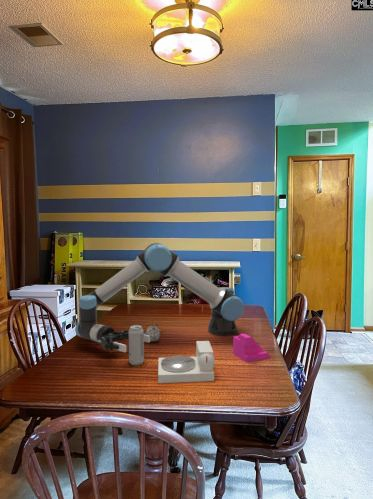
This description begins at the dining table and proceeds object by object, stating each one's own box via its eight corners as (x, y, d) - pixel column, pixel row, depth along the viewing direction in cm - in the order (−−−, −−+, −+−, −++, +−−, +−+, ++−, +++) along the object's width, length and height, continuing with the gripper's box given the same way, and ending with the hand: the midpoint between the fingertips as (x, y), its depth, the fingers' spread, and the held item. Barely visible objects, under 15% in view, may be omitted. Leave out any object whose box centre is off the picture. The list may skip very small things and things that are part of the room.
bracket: (246, 362, 143) (246, 338, 142) (233, 353, 152) (233, 330, 151) (270, 358, 147) (270, 334, 147) (256, 349, 157) (256, 327, 156)
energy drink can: (130, 360, 146) (130, 324, 145) (145, 360, 146) (144, 324, 145) (127, 365, 140) (127, 329, 139) (142, 365, 140) (142, 329, 139)
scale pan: (193, 357, 140) (193, 354, 140) (197, 371, 127) (197, 368, 127) (161, 359, 139) (161, 356, 139) (161, 373, 126) (161, 369, 126)
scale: (209, 363, 142) (209, 339, 141) (215, 380, 126) (215, 353, 125) (158, 365, 141) (158, 340, 140) (158, 383, 125) (157, 355, 124)
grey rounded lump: (155, 350, 167) (158, 338, 161) (139, 343, 168) (141, 330, 162) (163, 336, 174) (166, 324, 168) (147, 329, 175) (150, 317, 169)
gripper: (123, 335, 164) (158, 344, 152) (79, 351, 144) (114, 362, 132) (123, 319, 164) (158, 327, 151) (78, 333, 144) (114, 343, 131)
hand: (138, 343), depth 141 cm, fingers open, 13 cm apart
